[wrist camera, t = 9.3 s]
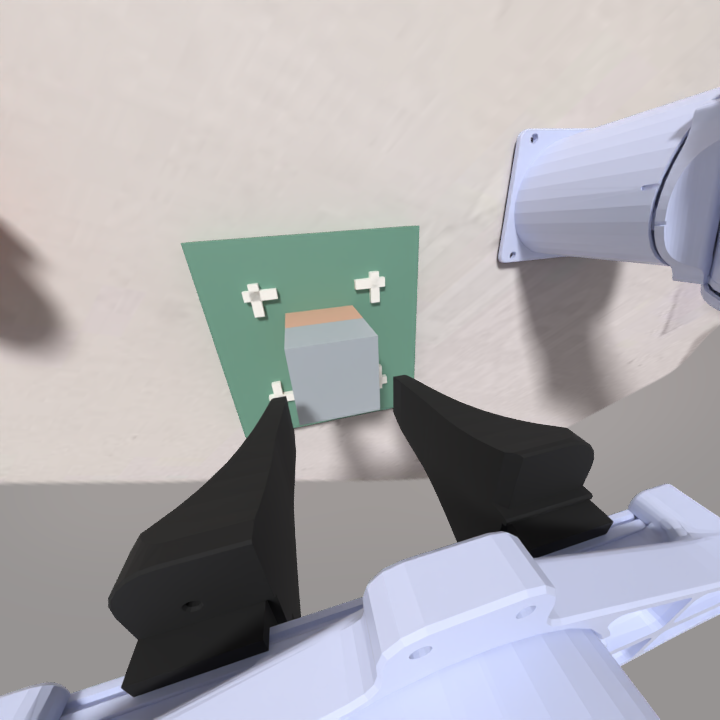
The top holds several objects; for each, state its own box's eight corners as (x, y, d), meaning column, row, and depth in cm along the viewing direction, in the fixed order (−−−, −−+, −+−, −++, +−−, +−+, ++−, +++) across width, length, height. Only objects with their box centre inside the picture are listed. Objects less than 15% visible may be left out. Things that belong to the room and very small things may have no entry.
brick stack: (352, 305, 18) (377, 335, 13) (356, 363, 20) (380, 409, 15) (285, 313, 18) (284, 349, 12) (296, 373, 20) (299, 425, 14)
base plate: (411, 225, 18) (421, 225, 17) (407, 396, 25) (415, 406, 23) (187, 242, 16) (178, 243, 14) (247, 427, 22) (245, 441, 21)
